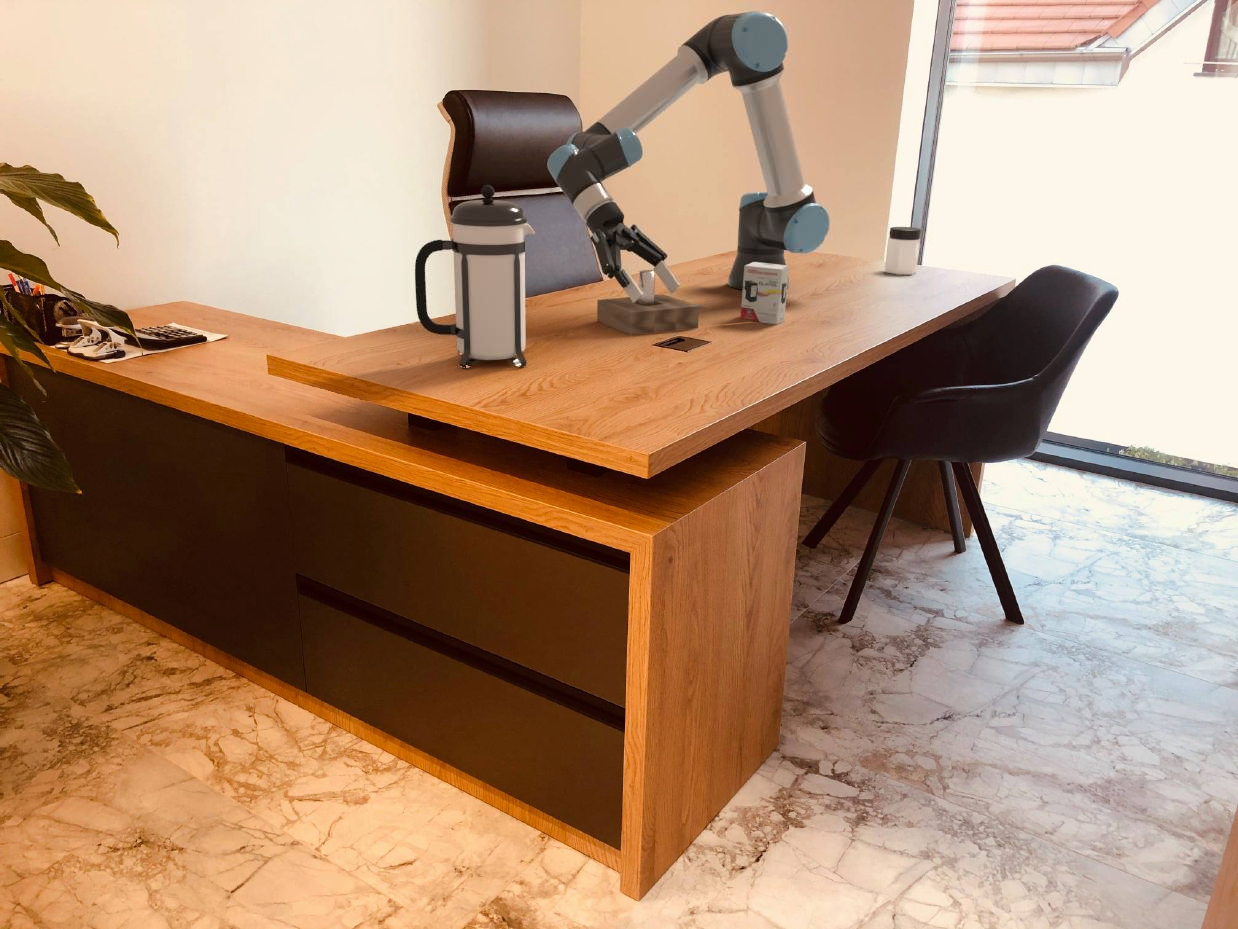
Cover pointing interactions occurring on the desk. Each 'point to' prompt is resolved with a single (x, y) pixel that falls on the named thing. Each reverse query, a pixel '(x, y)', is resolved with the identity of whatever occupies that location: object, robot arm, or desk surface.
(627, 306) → the hole block
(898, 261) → the jar
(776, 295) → the ink box
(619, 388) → the desk surface
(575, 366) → the desk surface
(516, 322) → the coffee press
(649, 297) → the silver rounded cylinder
